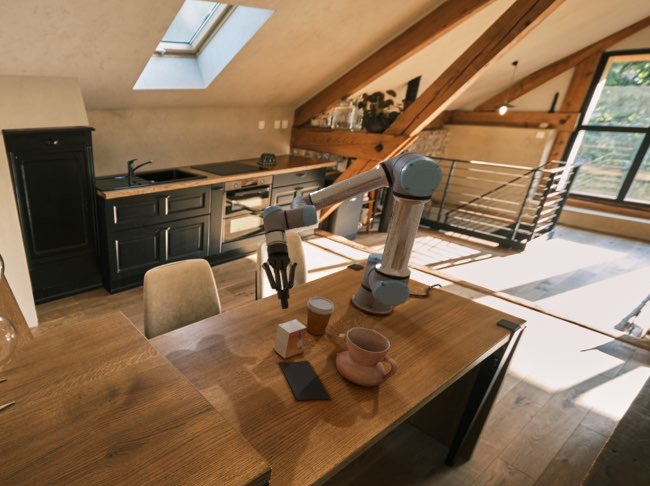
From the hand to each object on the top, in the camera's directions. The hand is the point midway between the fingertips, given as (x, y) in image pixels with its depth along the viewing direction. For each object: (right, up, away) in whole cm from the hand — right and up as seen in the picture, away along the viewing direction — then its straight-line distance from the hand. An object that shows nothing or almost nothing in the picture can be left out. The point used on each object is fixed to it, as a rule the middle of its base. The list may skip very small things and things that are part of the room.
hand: (285, 308), depth 134 cm
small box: (0, -15, -2) cm, 15 cm away
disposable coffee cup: (+14, -10, +10) cm, 20 cm away
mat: (+1, -20, -15) cm, 25 cm away
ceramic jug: (+20, -20, -12) cm, 31 cm away
